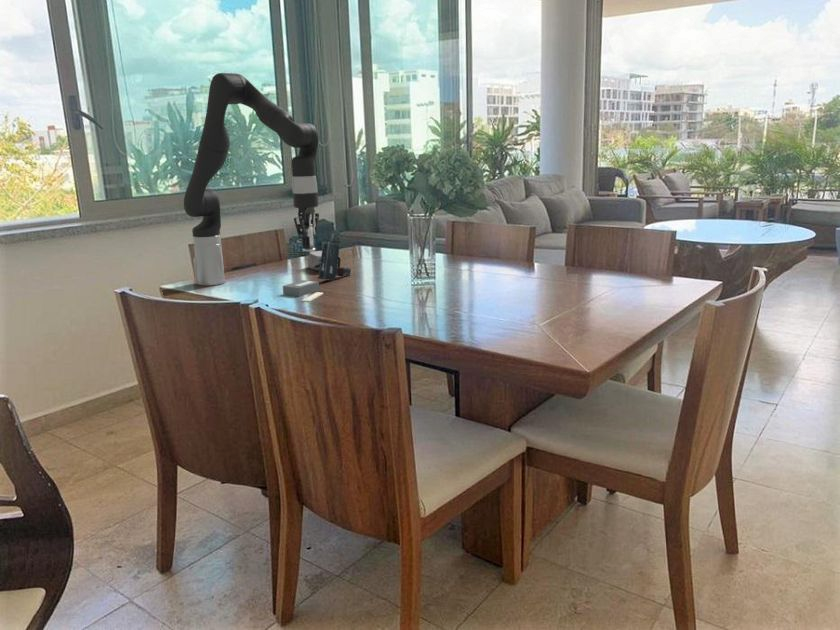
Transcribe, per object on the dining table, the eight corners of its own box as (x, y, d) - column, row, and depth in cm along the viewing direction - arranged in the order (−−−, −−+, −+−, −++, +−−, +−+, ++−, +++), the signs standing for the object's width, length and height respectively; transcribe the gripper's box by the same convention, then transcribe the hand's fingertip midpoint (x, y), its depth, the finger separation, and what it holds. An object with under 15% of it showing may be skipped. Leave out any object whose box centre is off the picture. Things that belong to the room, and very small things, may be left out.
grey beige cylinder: (300, 251, 201) (298, 225, 199) (306, 249, 204) (304, 223, 202) (312, 251, 200) (310, 225, 198) (317, 249, 203) (316, 223, 201)
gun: (355, 237, 239) (328, 231, 227) (350, 282, 240) (322, 279, 228) (350, 236, 241) (322, 231, 228) (344, 281, 242) (317, 278, 229)
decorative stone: (322, 265, 263) (300, 268, 257) (321, 249, 261) (300, 251, 255) (343, 271, 252) (321, 273, 246) (342, 253, 251) (320, 255, 244)
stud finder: (283, 295, 213) (282, 285, 212) (303, 289, 221) (302, 279, 220) (299, 297, 210) (298, 287, 209) (319, 291, 218) (318, 281, 217)
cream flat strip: (302, 301, 203) (302, 300, 203) (316, 293, 213) (316, 292, 213) (309, 301, 202) (309, 300, 202) (323, 293, 212) (323, 292, 212)
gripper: (306, 193, 190) (310, 251, 194) (325, 189, 203) (328, 244, 207) (283, 193, 192) (287, 251, 196) (303, 189, 205) (307, 243, 209)
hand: (308, 247), depth 202 cm, fingers closed on grey beige cylinder, 3 cm apart
